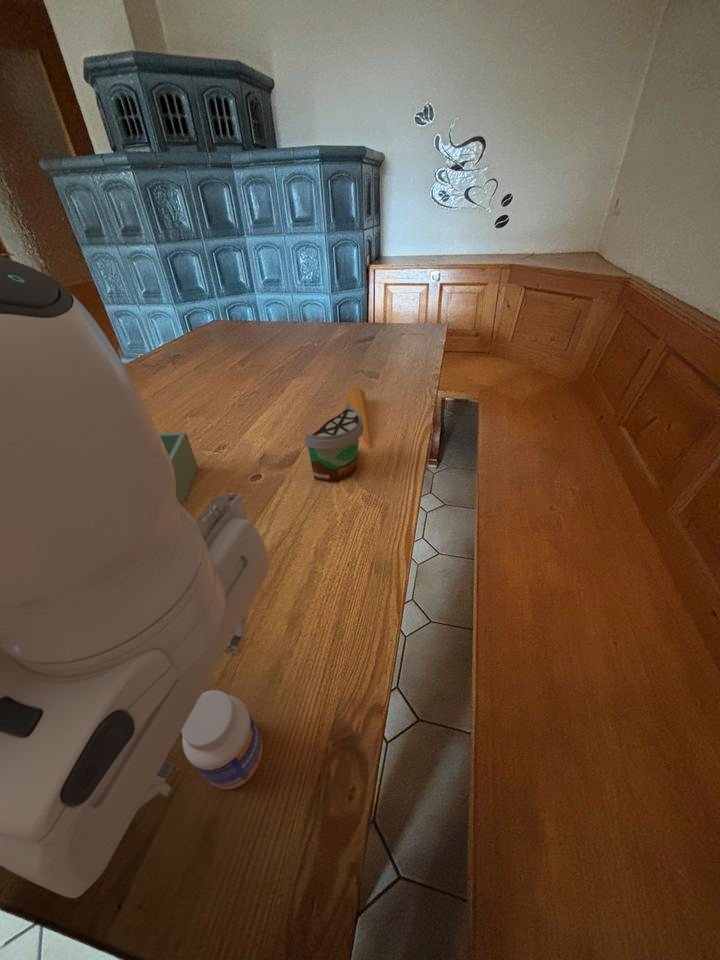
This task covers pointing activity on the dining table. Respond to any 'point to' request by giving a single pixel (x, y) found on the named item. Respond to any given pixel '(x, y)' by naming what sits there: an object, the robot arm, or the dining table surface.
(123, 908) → the dining table surface
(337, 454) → the food container
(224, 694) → the pill bottle
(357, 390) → the carrot
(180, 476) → the tub
